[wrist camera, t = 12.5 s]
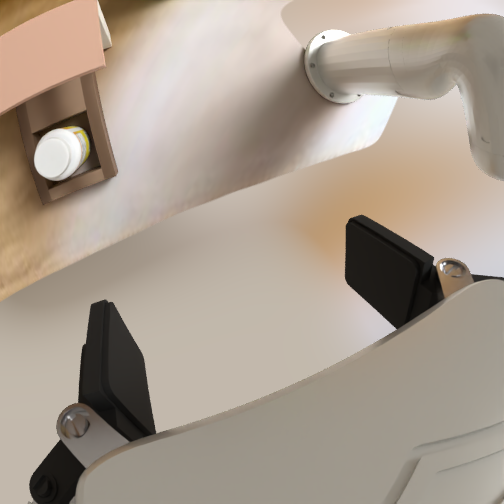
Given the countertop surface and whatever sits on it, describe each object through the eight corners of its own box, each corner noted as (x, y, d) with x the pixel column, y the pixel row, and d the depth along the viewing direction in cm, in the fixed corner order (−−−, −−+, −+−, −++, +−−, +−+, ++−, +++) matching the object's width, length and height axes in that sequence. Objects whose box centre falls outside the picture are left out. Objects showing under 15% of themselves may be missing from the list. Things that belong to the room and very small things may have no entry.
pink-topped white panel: (109, 33, 25) (95, -7, 13) (118, 83, 29) (104, 65, 17) (3, 81, 21) (-53, 74, 9) (11, 129, 25) (-44, 143, 13)
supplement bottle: (46, 154, 29) (18, 169, 20) (68, 118, 28) (44, 119, 20) (77, 175, 32) (58, 196, 23) (100, 139, 31) (86, 147, 23)
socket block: (94, 71, 27) (90, 67, 24) (118, 171, 34) (116, 175, 31) (23, 102, 24) (14, 102, 22) (49, 198, 31) (42, 205, 29)
